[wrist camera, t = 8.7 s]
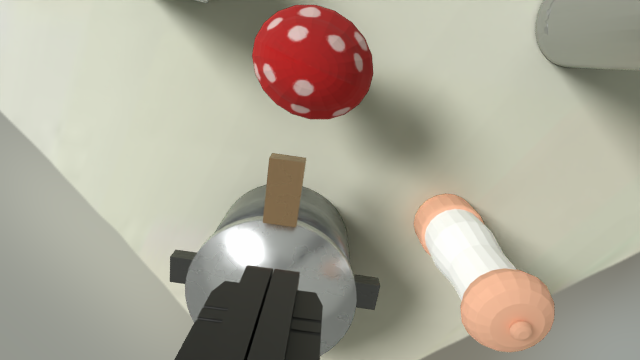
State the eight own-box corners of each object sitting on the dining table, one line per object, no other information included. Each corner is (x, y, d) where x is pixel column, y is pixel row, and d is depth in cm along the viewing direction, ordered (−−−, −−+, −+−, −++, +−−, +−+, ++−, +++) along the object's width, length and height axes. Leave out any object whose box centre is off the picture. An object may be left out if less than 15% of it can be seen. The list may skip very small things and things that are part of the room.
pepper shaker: (423, 255, 46) (485, 384, 28) (406, 205, 44) (461, 310, 26) (480, 237, 45) (583, 359, 27) (465, 185, 43) (567, 279, 25)
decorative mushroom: (259, 81, 39) (220, 95, 25) (288, 1, 37) (264, -34, 23) (342, 118, 41) (349, 151, 26) (376, 43, 38) (405, 35, 24)
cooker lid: (382, 169, 32) (387, 178, 29) (340, 371, 39) (340, 393, 37) (194, 141, 31) (182, 148, 29) (187, 350, 39) (176, 371, 36)
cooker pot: (381, 196, 43) (395, 235, 34) (354, 321, 49) (360, 383, 40) (201, 170, 43) (165, 202, 33) (195, 299, 49) (164, 358, 39)
